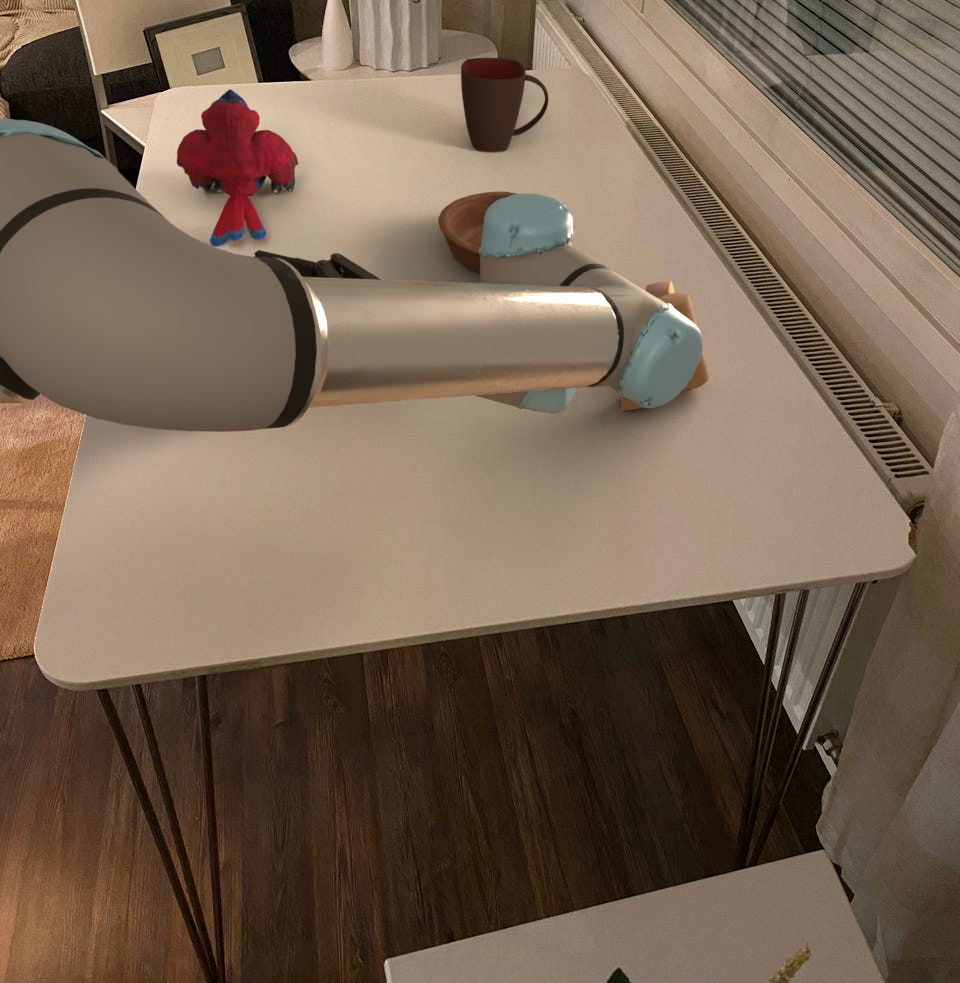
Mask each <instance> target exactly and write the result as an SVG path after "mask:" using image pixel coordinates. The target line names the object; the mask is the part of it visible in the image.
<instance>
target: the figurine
mask: <svg viewBox="0 0 960 983" xmlns="http://www.w3.org/2000/svg"><path fill="white" fill-rule="evenodd" d="M260 117H261V116H260V114H259V113H258V111H257V110H255V109H250V107H249V106H248V104H247V102H246V101H245V99H244V98H243V97H242V96H241V95H239V94H238V93H237V92H236V91H235V90H233V89H231V88H229V89H228V90H227V91H225V92H224V93H223V94H222V95H221V96H220V97H219V98H218V99H216V100H214V101H213V102H212V103H211V104H210V106H208V108H206V109H204V110H203V111H202V112H201V115H200V118H201V123H202V126H203V128H204V129H194V130H192V131H190V132H188V133H187V134H186V135H184V137H183V138H182V140H181V141H180V143H179V144H178V147H177V150H176V165H177V166H178V167H179V168H182V170H184V171H183V172H184V174H185V175H187V176H188V178H189V181H190V184H191V186H192V187H193V188H194V189H196V190H198V189H200V188H201V189H202V192H204V193H209V192H210V191H211V190H212V187H214V189H215V191H216V192H217V193H218V194H222V193H225V194H226V195H227V196H229V197H228V198H227V200H226V202H225V204H224V206H223V208H222V209H221V213H220V215H219V217H218V220H217V221H216V224H215V226H214V229H213V231H212V234H211V236H210V238H209V242H210V244H211V246H213V247H216V248H217V247H221V246H223V245H224V244H225V243H226V242H227V240H230V241H233V242H234V241H235V242H236V241H237V242H238V241H239V240H241V239H243V237H244V235H245V226H246V228H247V231H248V233H249V235H250V237H251V238H252V239H254V240H257V241H261V240H263V239H265V238H266V236H267V231H266V228H265V226H264V223H263V222H262V219H261V218H260V216H259V213H258V211H257V209H256V207H255V205H254V203H253V202H252V200H251V198H250V197H252V196H255V195H256V194H257V193H258V192H259V190H261V188H262V187H263V184H264V183H265V181H266V179H267V177H268V179H269V180H270V187H271V190H272V192H273V194H278V193H280V192H281V190H282V189H285V190H286V191H287V192H289V193H291V192H293V191H294V187H295V184H296V176H295V175H296V167H297V166H298V165H299V161H298V157H297V154H296V152H294V151H293V148H292V147H291V145H290V144H289V143H288V142H287V141H286V140H285V139H284V138H283V136H281V135H279V134H278V133H277V132H275V131H272V130H270V129H260V130H257V129H258V128H259V126H260V123H261V122H260V119H261V118H260ZM213 185H214V186H213Z"/></svg>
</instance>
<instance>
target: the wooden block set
mask: <svg viewBox="0 0 960 983" xmlns="http://www.w3.org/2000/svg"><path fill="white" fill-rule="evenodd" d="M644 290H645V291H646V292H648V293H650V294H651V295H653V296H655V297H656V298H658V299H660V300H661V301H663V302H665V303H669V304H671V305H672V306H673V307H674V309H676V310H677V311H678V312H680V313H681V314H682V315H684V316H685V317H686V318H688V319H689V320H690V321H691V322H693V323H694V324H695V325H696V326H697V327H698V325H697V321H696V317H695V313H694V309H693V305H692V300H691V297H690V295H688V294H687V293H685V292H675V288H674V285H673V282H672V279H671V280H664V281H658V282H655V283H650V284H646V286H645V289H644ZM709 379H710V373H709V368H708V365H707V361H706V356H705V353H704V350H703V351H702V356H701V360H700V362H699V364H698V366H697V368H696V370H695V372H694V375H693V377H692V379H691V380H690V382H689V383H688V384H687V386H686V387H685V388H684V389H683V390H682V391H691V390H695V389H697V388H700V387H702V386H703V385H705V384H706V383H708V381H709ZM619 400H620V410H621V412H623V411H630V410H631V411H632V410H636V409H643V408H645V407H642V406H639V405H638V404H636V403H634V402H633V401H631V400H629V399H628V398H623V397H622V396H620V395H619Z"/></svg>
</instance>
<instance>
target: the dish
mask: <svg viewBox="0 0 960 983" xmlns="http://www.w3.org/2000/svg"><path fill="white" fill-rule="evenodd" d="M515 194H519V193H516V192H511V191H487V192H479V193H474V194H471V195H467V196H463V197H460V198H457V199H455V200H453V201H452V202H450V203H449V204H447V205H446V206H445V207H444V208H443V209H442V210H441V212H440V214H439V216H438V218H437V219H438V220H437V224H438V228H439V229H440V231H441V233H442V234H443V236H444V239H445V241H446V242H445V243H446V244H447V248H448V249H449V251H450V253H451V255H452V257H453V258H454V259H455V260H456V261H457V262H458V263H460V264H461V265H463V266H464V267H466V268H468V269H470V270H473V271H475V272H477V273H480V253H479V248H480V247H481V243H482V234H483V225H484V216H485V213H486V211H487V209H488V208H489V207H490V206H491V205H492V204H493V203H494V202H496V201H497V200H499V199H501V198H506V197H508V196H511V195H515Z"/></svg>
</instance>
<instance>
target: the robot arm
mask: <svg viewBox="0 0 960 983" xmlns="http://www.w3.org/2000/svg"><path fill="white" fill-rule="evenodd" d="M574 234H575V233H574V223H573V215H572V214H571V212H570V210H569V208H568V207H567V206H566V205H565V204H564V203H563V202H561V201H560V200H558V199H556V198H553V197H551V196H547V195H543V194H538V193H518V194H515V195H511V196H508V197H506V198H501V199H499V200H497V201H496V202H494V203H493V204H492V205H491V206H490V207H489V208H488V209H487V211H486V213H485V216H484V225H483V234H482V243H481V247H480V248H479V253H480V272H479V282H457V281H429V280H428V281H427V280H397V279H382V278H379V277H378V276H376V275H375V274H373V273H372V272H370V271H368V270H367V269H366V268H364V267H362V266H360V265H359V264H357V263H355V262H354V261H353V260H350V259H349V258H347V257H346V256H344V255H342V254H341V253H337V252H334V253H332V254H330V256H329V257H330V259H328V260H326V259H319V260H317V261H314V260H313V261H312V260H308V259H304V258H299V257H292V256H287V255H282V254H278V253H273V252H268V251H265V250H260V249H258V250H256V251H255V252H254V256H250V255H244V254H239V253H234V252H231V251H227V250H224V249H221V248H218V247H217V246H216V247H215V246H213V245H212V244H211V245H210V244H208V243H206V242H203V241H201V240H199V239H197V238H195V237H193V236H191V235H190V234H188V233H186V232H185V231H183V230H182V229H180V228H178V226H176V225H174V224H173V223H172V222H171V221H170V220H168V219H167V218H166V217H165V216H164V215H163V214H161V212H160V211H159V210H157V209H156V207H154V206H153V204H151V203H150V202H149V201H148V199H146V198H145V197H144V196H143V195H142V194H141V193H140V192H139V191H138V190H137V189H136V188H135V187H134V186H133V185H132V184H131V182H130V181H129V180H128V179H127V178H125V177H124V175H122V174H121V173H120V171H119V169H118V168H117V166H115V165H114V164H112V163H111V162H110V161H109V160H107V158H106V157H105V156H104V155H102V154H101V153H100V151H98V150H96V149H93V148H91V147H89V146H87V145H86V144H84V143H83V142H82V141H80V140H78V139H77V138H75V137H74V136H73V135H70V134H69V133H67V132H65V131H63V130H62V129H59V128H56V127H54V126H51V125H49V124H45V123H43V122H42V123H41V122H37V121H32V120H31V121H30V120H25V119H12V118H2V119H1V118H0V404H31V403H32V402H34V400H36V399H37V398H38V397H39V396H40V395H42V397H44V398H46V399H48V400H50V401H51V402H53V403H55V404H57V405H59V406H61V407H63V408H66V409H69V410H71V411H74V412H76V413H80V414H82V415H85V416H87V417H91V418H94V419H98V420H102V421H105V422H111V423H115V424H119V425H125V426H131V427H137V428H147V429H154V430H165V431H166V430H167V431H182V432H214V433H215V432H216V433H224V432H225V433H226V432H227V433H228V432H248V431H257V430H258V431H259V430H266V429H267V430H269V429H281V428H288V427H291V426H292V425H293V424H296V423H297V422H298V421H300V420H301V419H302V418H303V416H305V414H306V413H307V411H308V409H309V408H322V407H336V406H348V405H349V406H350V405H360V404H361V405H362V404H363V405H364V404H376V403H378V404H379V403H386V402H387V403H390V402H402V401H418V400H430V399H432V400H433V399H444V398H455V397H469V396H472V397H473V396H475V397H479V398H483V399H486V400H489V401H493V402H497V403H501V404H505V405H508V406H512V407H516V408H517V409H519V410H522V409H524V410H530V411H535V412H540V413H546V414H559V413H562V412H564V411H565V410H566V409H567V408H568V407H569V405H570V403H571V402H572V400H573V399H574V398H573V397H574V395H575V392H576V390H577V388H578V389H579V388H599V387H608V388H611V389H614V391H615V392H617V393H618V395H619V397H620V396H622V397H623V398H628V399H629V400H631V401H633V402H634V403H636V404H638V405H639V406H642V407H644V408H646V409H654V408H658V407H663V406H664V405H666V404H668V403H670V402H671V401H672V400H673V399H675V398H676V397H677V396H679V395H680V393H682V392H683V391H684V390H683V389H684V388H685V387H686V386H687V384H688V383H689V382H690V380H691V379H692V377H693V375H694V372H695V370H696V368H697V366H698V364H699V362H700V360H701V356H702V351H703V352H704V341H703V335H702V333H701V330H700V329H699V327H698V325H697V326H696V325H695V324H694V323H693V322H691V321H690V320H689V319H688V318H686V317H685V316H684V315H682V314H681V313H680V312H678V311H677V310H676V309H674V307H673V306H672V305H671V304H669V303H665V302H663V301H661V300H660V299H658V298H656V297H655V296H653V295H651V294H650V293H648V292H646V291H645V290H646V289H643V288H641V287H639V286H638V285H636V284H635V283H633V282H631V281H629V280H628V279H626V278H625V277H623V276H621V275H620V274H618V273H616V272H614V271H613V270H611V269H610V268H609V267H607V266H606V265H604V264H603V263H601V262H599V261H598V260H596V259H595V258H593V257H592V256H590V255H589V254H587V253H585V252H583V251H582V250H580V249H579V248H577V247H575V246H574V245H573V243H572V240H573V238H574Z"/></svg>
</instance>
